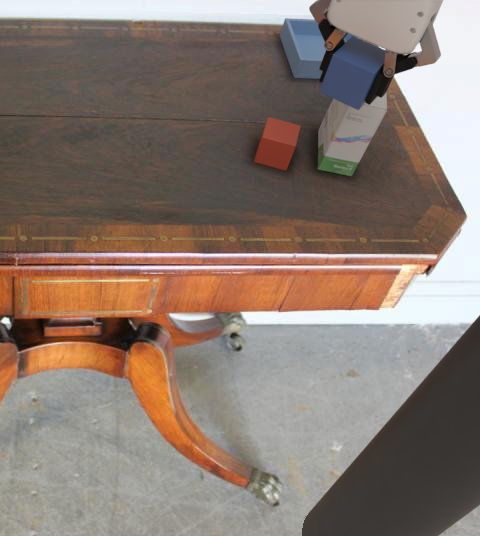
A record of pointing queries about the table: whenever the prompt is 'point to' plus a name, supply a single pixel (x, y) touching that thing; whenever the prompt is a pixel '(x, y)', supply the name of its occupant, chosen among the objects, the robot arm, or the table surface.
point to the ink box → (347, 134)
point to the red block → (277, 143)
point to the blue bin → (304, 47)
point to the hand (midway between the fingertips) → (349, 86)
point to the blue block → (352, 72)
